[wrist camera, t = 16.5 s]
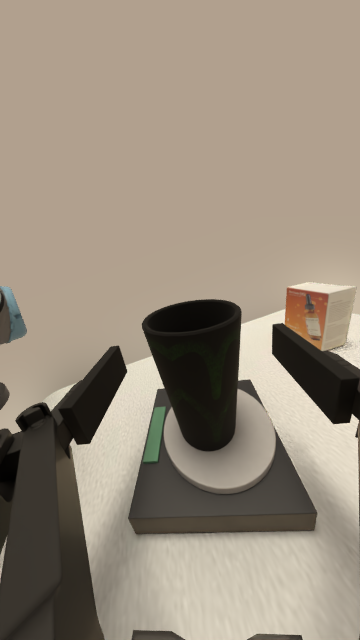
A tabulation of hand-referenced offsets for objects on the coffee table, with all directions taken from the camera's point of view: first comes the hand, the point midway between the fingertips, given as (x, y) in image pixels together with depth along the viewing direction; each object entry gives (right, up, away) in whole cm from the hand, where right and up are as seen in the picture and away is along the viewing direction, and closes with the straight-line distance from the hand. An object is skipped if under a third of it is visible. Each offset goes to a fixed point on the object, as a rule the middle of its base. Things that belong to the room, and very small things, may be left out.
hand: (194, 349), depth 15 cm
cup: (+2, -8, +3) cm, 9 cm away
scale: (+2, -11, +4) cm, 12 cm away
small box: (+24, -2, +19) cm, 31 cm away
